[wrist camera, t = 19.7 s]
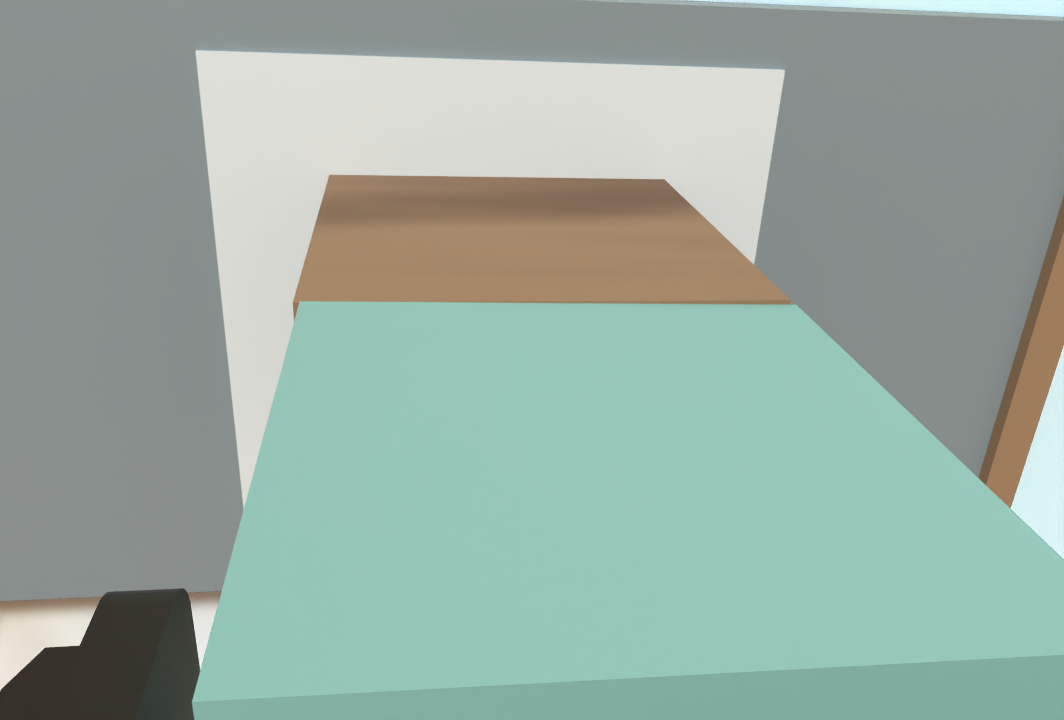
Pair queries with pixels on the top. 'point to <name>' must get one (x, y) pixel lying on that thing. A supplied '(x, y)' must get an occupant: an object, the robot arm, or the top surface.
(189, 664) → the robot arm
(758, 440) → the teal block
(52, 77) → the blueprint board
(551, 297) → the walnut block
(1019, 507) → the top surface
